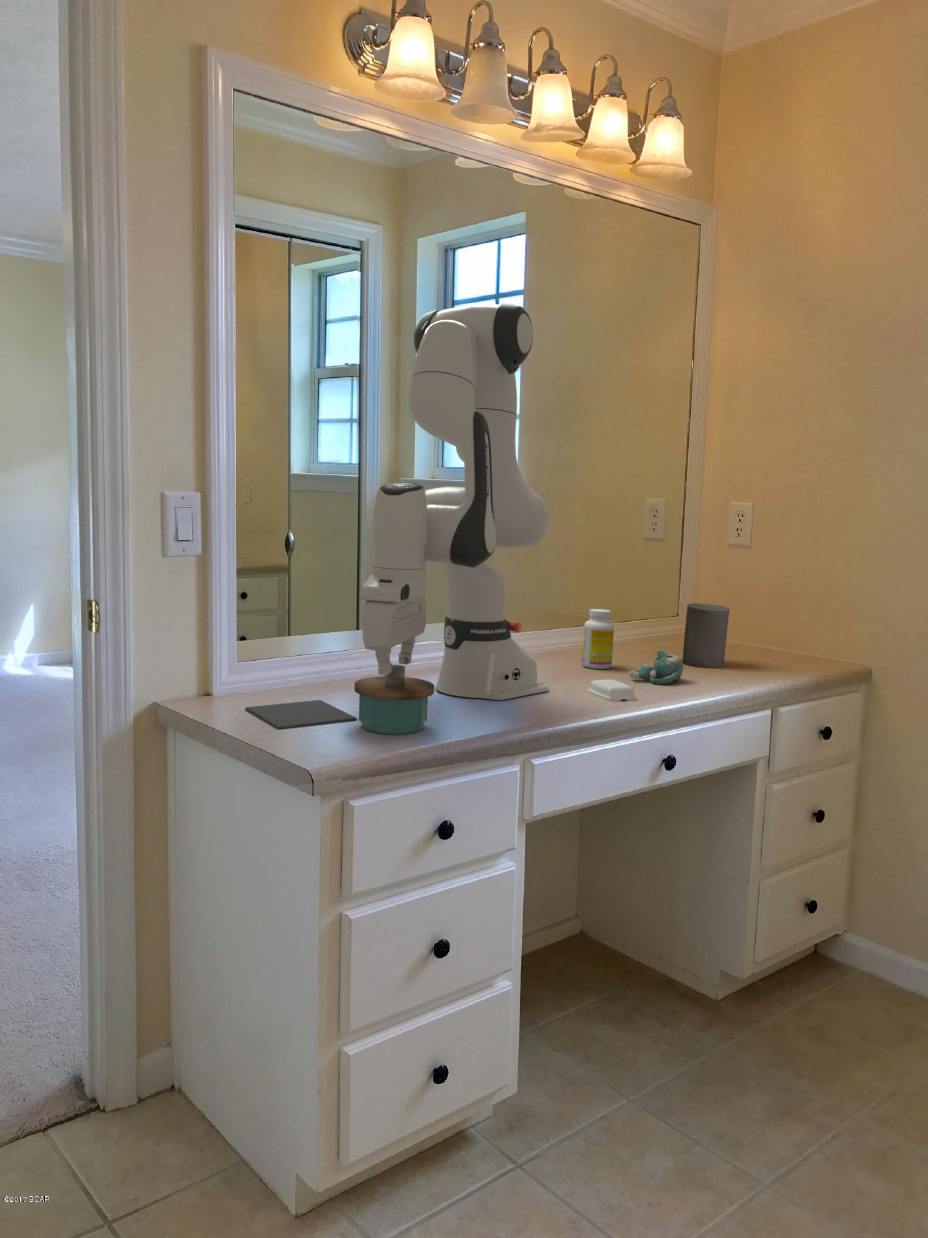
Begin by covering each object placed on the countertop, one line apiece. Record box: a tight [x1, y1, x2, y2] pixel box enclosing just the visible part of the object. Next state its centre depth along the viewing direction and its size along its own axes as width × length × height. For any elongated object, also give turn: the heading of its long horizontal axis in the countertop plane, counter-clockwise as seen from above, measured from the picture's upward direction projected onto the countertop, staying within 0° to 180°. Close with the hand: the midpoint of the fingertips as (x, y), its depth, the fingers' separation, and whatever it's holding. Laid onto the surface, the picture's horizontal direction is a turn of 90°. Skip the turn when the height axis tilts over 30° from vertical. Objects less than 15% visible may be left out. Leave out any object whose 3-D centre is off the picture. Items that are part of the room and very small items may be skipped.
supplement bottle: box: [581, 608, 615, 670], centre depth 218 cm, size 7×7×13 cm
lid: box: [353, 664, 435, 700], centre depth 159 cm, size 13×13×4 cm
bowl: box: [358, 694, 429, 736], centre depth 160 cm, size 10×10×6 cm
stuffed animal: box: [629, 649, 684, 685], centre depth 207 cm, size 11×7×12 cm
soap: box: [586, 678, 637, 702], centre depth 191 cm, size 9×7×3 cm
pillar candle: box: [681, 600, 730, 669], centre depth 227 cm, size 10×10×15 cm
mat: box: [245, 699, 358, 730], centre depth 165 cm, size 14×14×1 cm
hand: (395, 669), depth 159 cm, fingers open, 8 cm apart
